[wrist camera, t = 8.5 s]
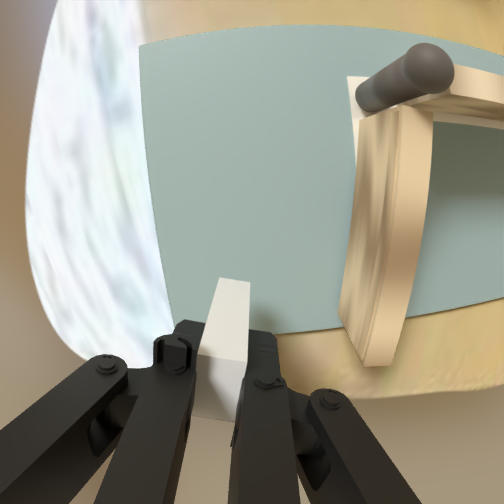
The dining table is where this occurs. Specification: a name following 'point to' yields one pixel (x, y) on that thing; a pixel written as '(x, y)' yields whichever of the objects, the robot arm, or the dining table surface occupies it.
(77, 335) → the dining table surface
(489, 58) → the board
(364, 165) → the fence panel
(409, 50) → the fence fixed
